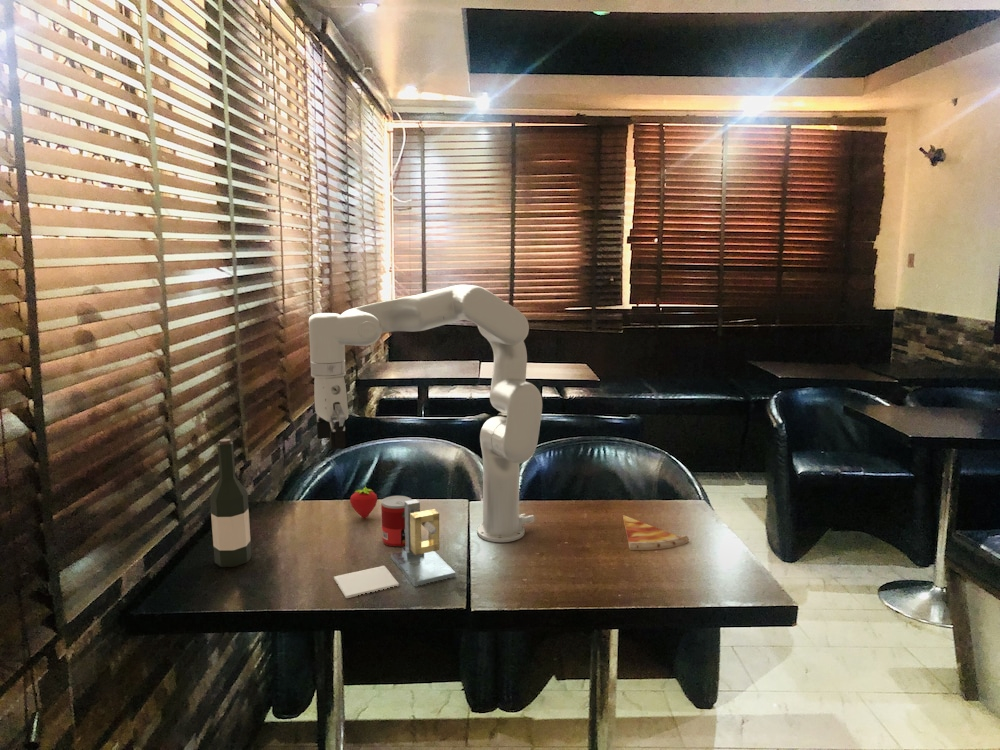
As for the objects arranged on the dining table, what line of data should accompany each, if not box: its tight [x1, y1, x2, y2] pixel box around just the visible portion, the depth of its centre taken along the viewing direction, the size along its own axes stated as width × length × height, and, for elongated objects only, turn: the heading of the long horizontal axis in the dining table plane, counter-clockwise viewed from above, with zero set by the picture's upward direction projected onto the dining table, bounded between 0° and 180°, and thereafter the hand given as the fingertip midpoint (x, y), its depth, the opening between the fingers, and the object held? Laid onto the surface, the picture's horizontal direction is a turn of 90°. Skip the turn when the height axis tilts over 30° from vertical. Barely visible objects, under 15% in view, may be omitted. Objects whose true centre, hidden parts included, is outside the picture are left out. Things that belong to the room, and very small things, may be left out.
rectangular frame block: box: [410, 508, 441, 555], centre depth 158 cm, size 6×3×9 cm, turn 118°
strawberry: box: [349, 482, 378, 519], centre depth 191 cm, size 6×8×10 cm
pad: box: [333, 565, 400, 599], centre depth 154 cm, size 12×10×1 cm
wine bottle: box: [209, 438, 252, 568], centre depth 162 cm, size 8×8×30 cm
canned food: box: [380, 495, 413, 547], centre depth 175 cm, size 8×8×11 cm
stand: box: [390, 499, 456, 587], centre depth 160 cm, size 10×16×14 cm, turn 28°
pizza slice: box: [622, 514, 690, 551], centre depth 182 cm, size 16×22×2 cm
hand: (331, 443), depth 155 cm, fingers open, 9 cm apart
